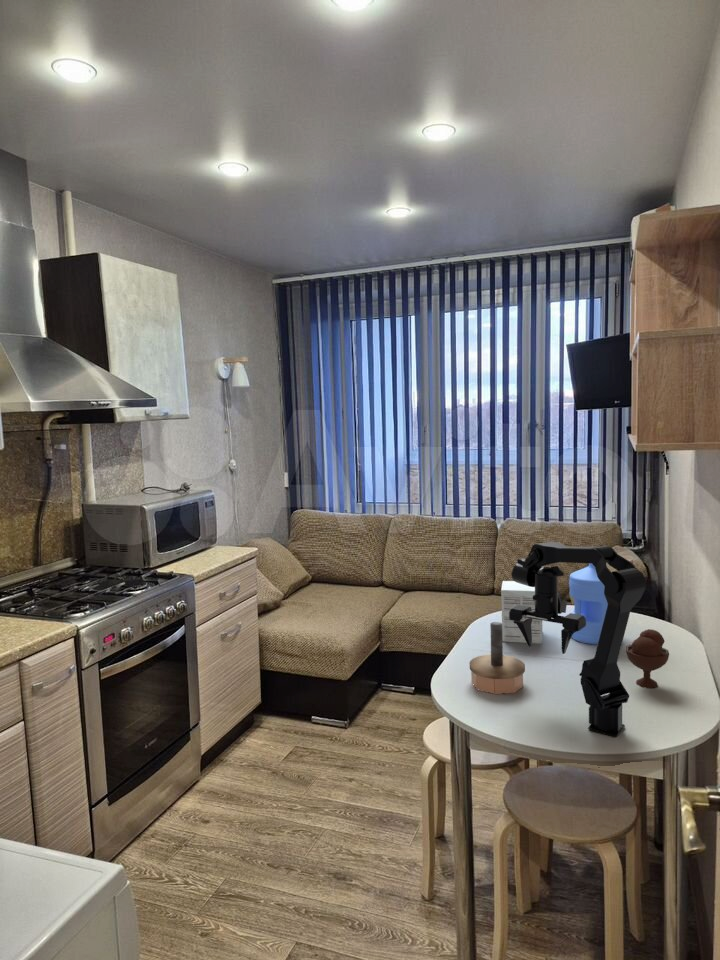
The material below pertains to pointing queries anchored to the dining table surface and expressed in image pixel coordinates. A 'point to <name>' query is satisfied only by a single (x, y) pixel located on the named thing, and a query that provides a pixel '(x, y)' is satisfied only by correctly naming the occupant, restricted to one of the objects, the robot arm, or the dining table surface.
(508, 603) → the supplement box
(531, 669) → the dining table surface
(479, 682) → the terracotta bowl
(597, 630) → the water jug
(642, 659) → the ice cream bowl
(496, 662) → the walnut lid
